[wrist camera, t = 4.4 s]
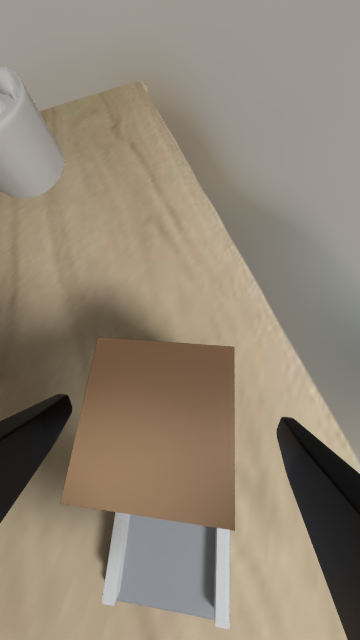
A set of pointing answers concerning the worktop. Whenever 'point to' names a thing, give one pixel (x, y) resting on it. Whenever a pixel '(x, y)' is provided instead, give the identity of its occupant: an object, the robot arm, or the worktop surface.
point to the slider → (170, 567)
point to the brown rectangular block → (157, 433)
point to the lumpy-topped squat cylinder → (25, 142)
